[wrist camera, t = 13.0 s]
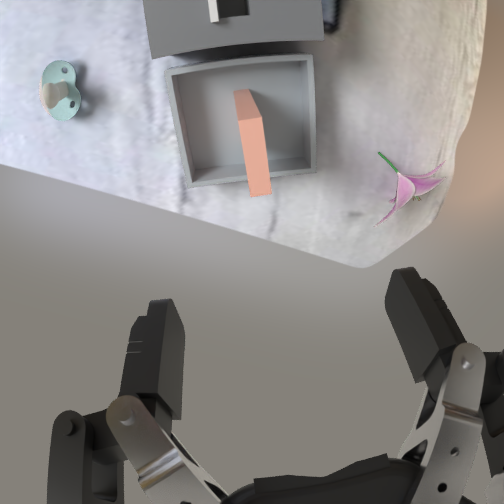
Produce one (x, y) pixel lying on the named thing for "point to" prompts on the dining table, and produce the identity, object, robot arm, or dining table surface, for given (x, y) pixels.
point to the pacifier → (59, 91)
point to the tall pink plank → (253, 143)
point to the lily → (411, 187)
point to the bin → (226, 122)
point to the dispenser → (228, 23)
